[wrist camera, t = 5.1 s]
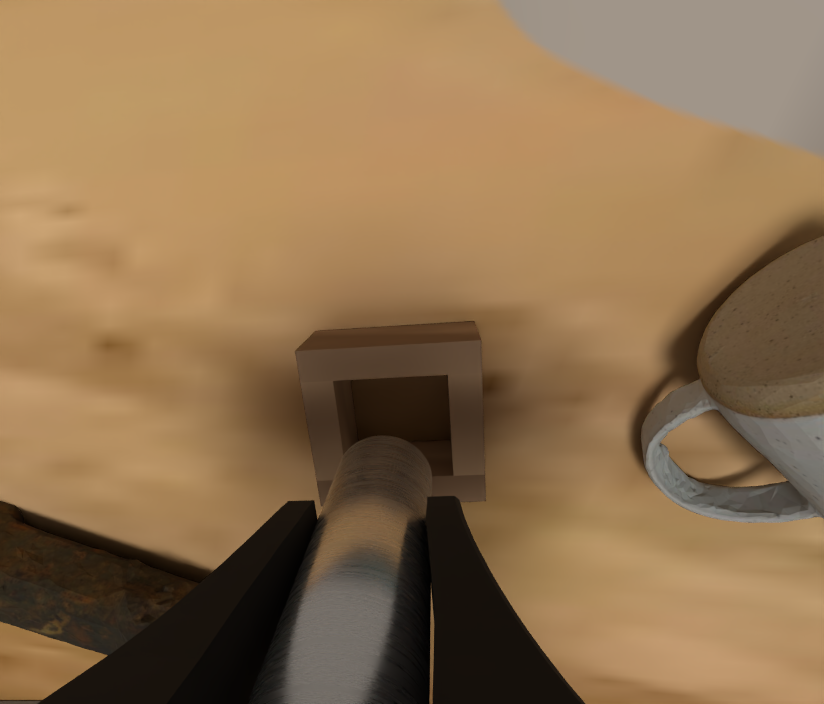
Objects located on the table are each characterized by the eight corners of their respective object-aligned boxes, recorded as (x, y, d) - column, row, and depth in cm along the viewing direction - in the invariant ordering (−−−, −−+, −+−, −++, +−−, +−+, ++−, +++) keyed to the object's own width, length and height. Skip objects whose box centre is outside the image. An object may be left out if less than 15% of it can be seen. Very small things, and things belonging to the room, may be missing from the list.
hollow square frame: (478, 462, 18) (485, 501, 15) (335, 468, 18) (321, 506, 16) (474, 321, 16) (480, 340, 14) (315, 330, 16) (294, 351, 14)
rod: (435, 516, 12) (434, 884, 5) (344, 518, 12) (236, 877, 6) (429, 433, 11) (419, 745, 5) (332, 437, 12) (191, 743, 5)
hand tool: (301, 588, 21) (264, 690, 16) (274, 643, 22) (233, 752, 17) (-95, 432, 19) (-254, 498, 15) (-101, 501, 20) (-249, 580, 16)
